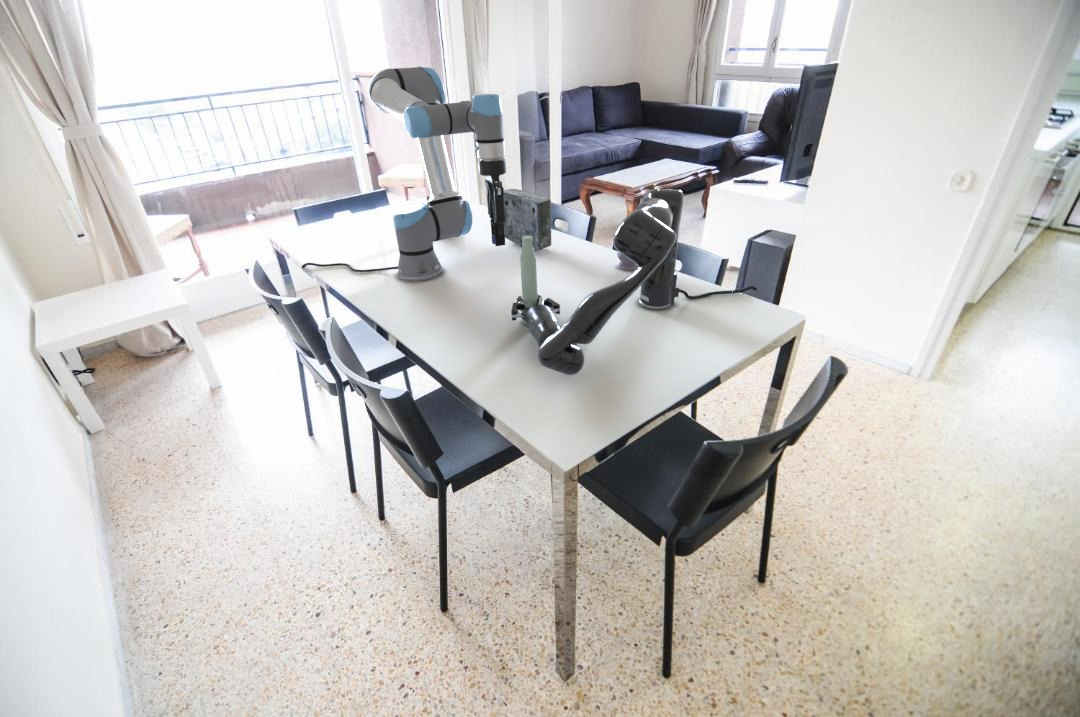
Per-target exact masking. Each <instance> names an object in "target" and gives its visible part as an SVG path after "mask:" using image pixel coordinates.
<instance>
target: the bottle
mask: <svg viewBox="0 0 1080 717" xmlns="http://www.w3.org/2000/svg"><path fill="white" fill-rule="evenodd" d="M532 240H533V239H532V236H523V237H522V247H521V251H520V256H519V257H520V258H519V264H520V265H519V266H520V280H521V281H520V282H521V297H522V299H523V302H525V303H526V302H527V303H528V304H530V305H537V304H538V296H537V294H538V274H537V272H538V271H537V257H536V256H537V255H536V252H535V250H533V247H532ZM523 324H524V325H526V326H527V324H526V322H525V320H523Z"/></svg>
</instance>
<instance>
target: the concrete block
mask: <svg viewBox="0 0 1080 717" xmlns="http://www.w3.org/2000/svg"><path fill="white" fill-rule="evenodd" d="M504 212H505V223H503V224H504V235H505V239H507V240H508V241H511V243H514V244H515V245H517V246H519V247H521V248H523V247H522V237H523V236H532V239H533V240H532V247H533V250H534V251H542V250H544V249H546V248H548V247H551V245H552V200H551V198H550V197H546V196H544V195H541V194H538V193H535V192H531V191H527V190H522V189H517V188H508V189H504Z"/></svg>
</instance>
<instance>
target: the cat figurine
mask: <svg viewBox="0 0 1080 717" xmlns="http://www.w3.org/2000/svg"><path fill="white" fill-rule="evenodd" d="M616 256H617V258H618V260H619V262H618V268H619V269H620V270H623V271H634V270H635V269H636V268H637V267H638V265H637V264H636V263H634V262H632V261H631V260H630V259H628V258H627V257H625V256H624V255H622V254H621V253H620V252H619V251H618V250H617V253H616Z"/></svg>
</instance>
